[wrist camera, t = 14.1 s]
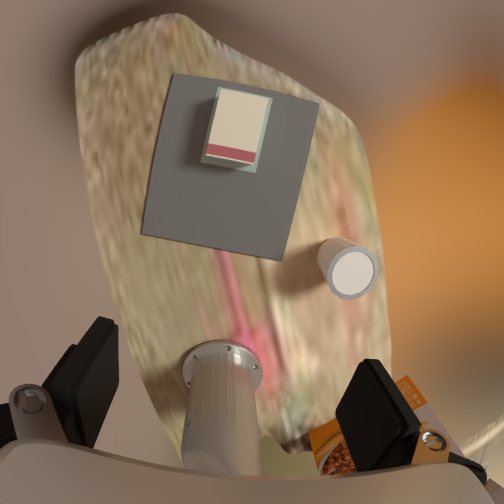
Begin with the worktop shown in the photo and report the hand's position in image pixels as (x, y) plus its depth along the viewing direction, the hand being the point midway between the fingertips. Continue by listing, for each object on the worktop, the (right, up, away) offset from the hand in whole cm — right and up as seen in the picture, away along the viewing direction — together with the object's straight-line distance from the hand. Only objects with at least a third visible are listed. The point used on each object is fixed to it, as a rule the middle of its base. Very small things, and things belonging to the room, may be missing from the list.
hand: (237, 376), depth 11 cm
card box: (-1, +20, +25) cm, 32 cm away
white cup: (+12, +4, +32) cm, 34 cm away
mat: (-2, +15, +27) cm, 31 cm away
